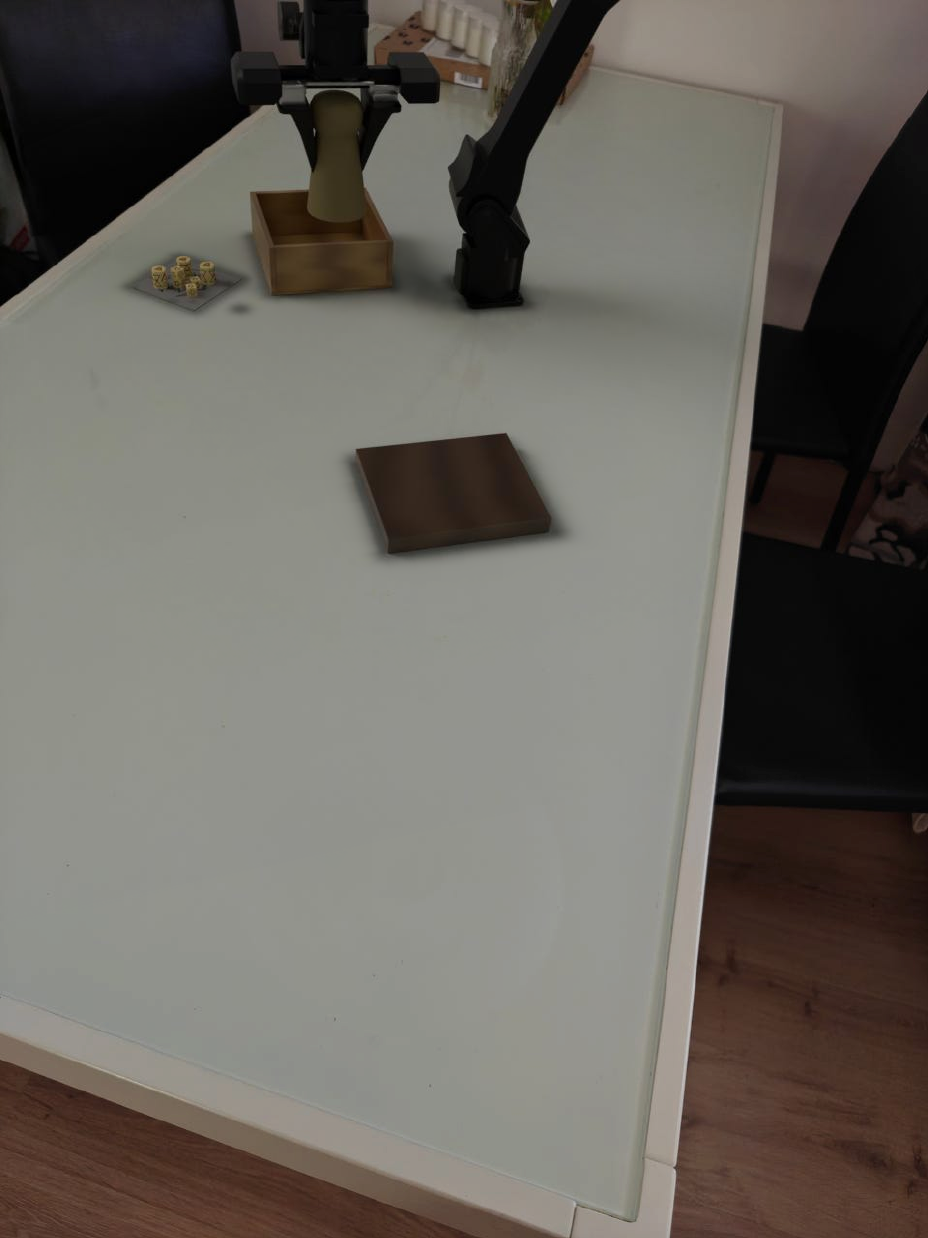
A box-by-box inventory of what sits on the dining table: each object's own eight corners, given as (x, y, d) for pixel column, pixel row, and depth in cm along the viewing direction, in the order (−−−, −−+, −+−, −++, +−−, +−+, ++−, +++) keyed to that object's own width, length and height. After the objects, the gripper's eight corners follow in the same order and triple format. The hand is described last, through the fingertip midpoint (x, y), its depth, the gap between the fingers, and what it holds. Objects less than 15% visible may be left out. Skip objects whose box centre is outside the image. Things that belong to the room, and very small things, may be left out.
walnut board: (504, 445, 91) (506, 432, 90) (549, 531, 84) (551, 518, 83) (355, 462, 88) (355, 448, 87) (387, 553, 80) (388, 539, 79)
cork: (308, 194, 103) (305, 79, 95) (367, 197, 103) (368, 84, 96) (305, 220, 99) (302, 103, 91) (366, 224, 99) (368, 108, 91)
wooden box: (364, 231, 118) (365, 186, 114) (391, 287, 109) (393, 241, 105) (252, 236, 114) (249, 191, 110) (271, 295, 106) (268, 247, 102)
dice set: (150, 286, 105) (148, 269, 103) (181, 267, 108) (179, 250, 107) (189, 301, 103) (187, 284, 102) (219, 281, 107) (218, 264, 105)
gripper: (417, -34, 94) (410, 136, 106) (217, -39, 90) (232, 139, 101) (447, 3, 87) (435, 181, 99) (231, 0, 83) (245, 187, 94)
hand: (337, 170), depth 98 cm, fingers closed on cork, 4 cm apart
